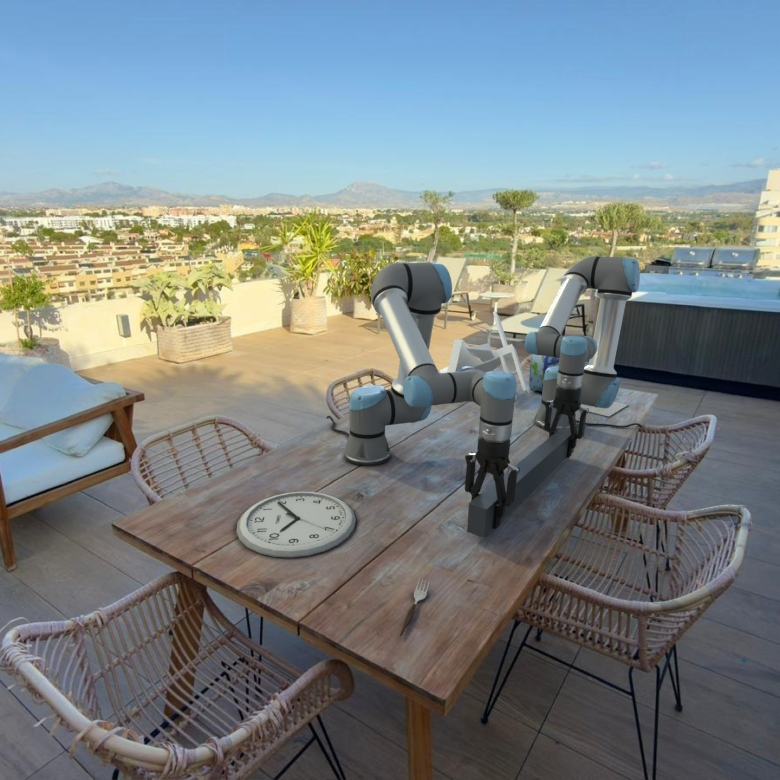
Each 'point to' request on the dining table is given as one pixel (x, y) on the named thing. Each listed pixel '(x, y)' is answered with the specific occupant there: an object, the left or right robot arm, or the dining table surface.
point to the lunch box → (540, 370)
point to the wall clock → (296, 524)
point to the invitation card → (606, 409)
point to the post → (519, 482)
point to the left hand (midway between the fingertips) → (486, 522)
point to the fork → (418, 596)
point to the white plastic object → (485, 356)
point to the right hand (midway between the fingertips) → (560, 454)
